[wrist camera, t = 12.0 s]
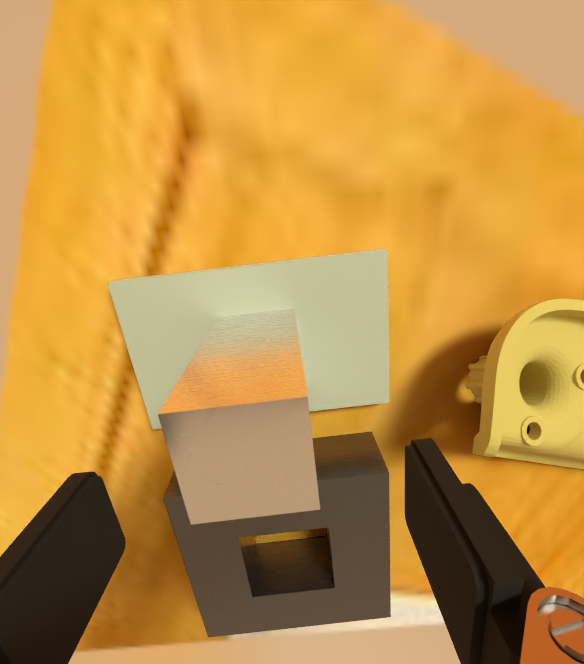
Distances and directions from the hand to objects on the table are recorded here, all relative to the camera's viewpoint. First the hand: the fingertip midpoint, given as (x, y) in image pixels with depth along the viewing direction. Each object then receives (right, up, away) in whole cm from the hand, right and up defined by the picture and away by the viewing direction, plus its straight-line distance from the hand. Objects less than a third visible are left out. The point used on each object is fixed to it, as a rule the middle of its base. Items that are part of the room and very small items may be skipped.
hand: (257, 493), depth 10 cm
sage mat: (-1, +4, +11) cm, 12 cm away
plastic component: (+20, +2, +13) cm, 24 cm away
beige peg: (-1, +4, +10) cm, 11 cm away
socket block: (+1, -10, +16) cm, 19 cm away
